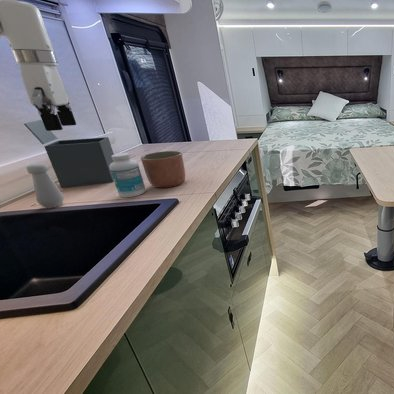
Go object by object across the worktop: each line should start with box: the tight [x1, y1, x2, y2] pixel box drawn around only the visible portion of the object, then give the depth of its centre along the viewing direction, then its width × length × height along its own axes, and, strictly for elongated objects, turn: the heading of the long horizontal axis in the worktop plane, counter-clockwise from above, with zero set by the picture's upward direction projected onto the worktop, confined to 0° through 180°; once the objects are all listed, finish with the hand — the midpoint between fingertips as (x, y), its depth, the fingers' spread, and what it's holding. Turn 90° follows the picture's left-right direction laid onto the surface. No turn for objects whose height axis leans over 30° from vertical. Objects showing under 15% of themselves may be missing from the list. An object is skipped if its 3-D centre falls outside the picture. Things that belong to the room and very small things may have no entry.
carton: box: [44, 136, 114, 189], centre depth 107 cm, size 15×11×15 cm
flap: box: [23, 119, 59, 145], centre depth 100 cm, size 7×11×1 cm
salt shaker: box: [26, 163, 65, 209], centre depth 86 cm, size 6×6×13 cm
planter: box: [140, 150, 186, 189], centre depth 104 cm, size 12×12×11 cm
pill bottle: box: [109, 152, 147, 198], centre depth 94 cm, size 8×7×14 cm
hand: (62, 127), depth 80 cm, fingers open, 9 cm apart
